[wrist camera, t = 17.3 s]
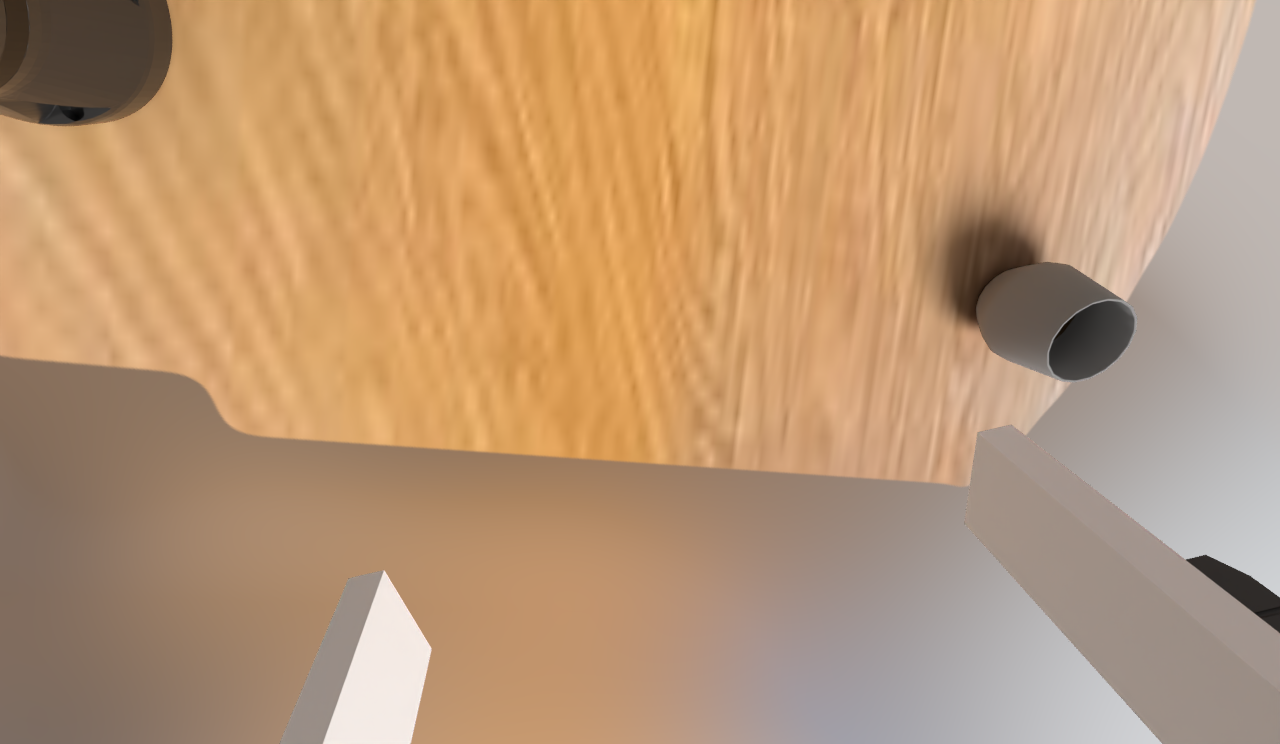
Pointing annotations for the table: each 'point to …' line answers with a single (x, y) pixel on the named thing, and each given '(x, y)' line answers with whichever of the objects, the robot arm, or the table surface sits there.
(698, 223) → the table surface
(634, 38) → the table surface
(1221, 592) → the robot arm
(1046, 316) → the cup
